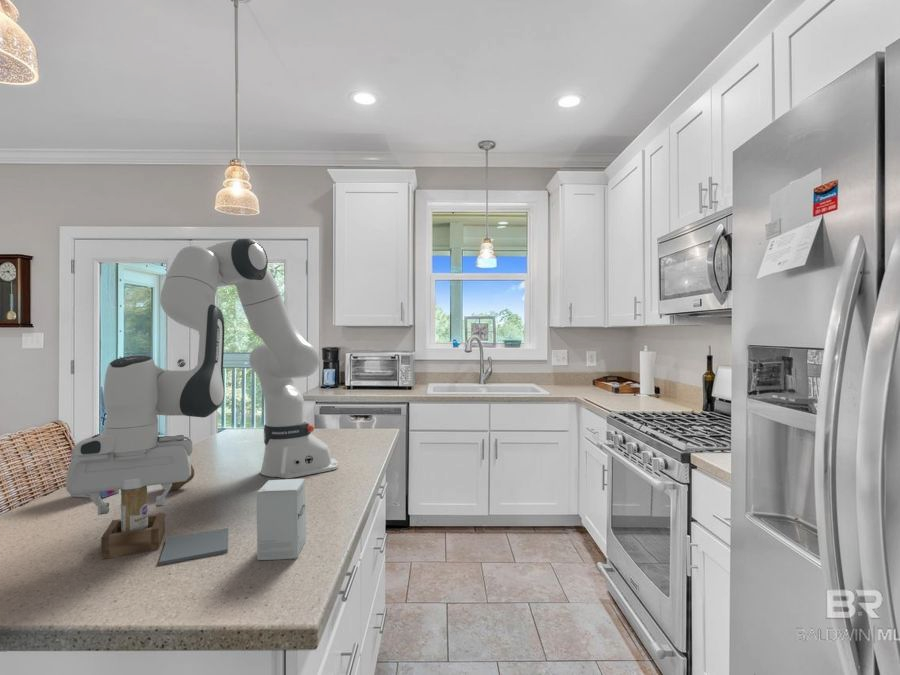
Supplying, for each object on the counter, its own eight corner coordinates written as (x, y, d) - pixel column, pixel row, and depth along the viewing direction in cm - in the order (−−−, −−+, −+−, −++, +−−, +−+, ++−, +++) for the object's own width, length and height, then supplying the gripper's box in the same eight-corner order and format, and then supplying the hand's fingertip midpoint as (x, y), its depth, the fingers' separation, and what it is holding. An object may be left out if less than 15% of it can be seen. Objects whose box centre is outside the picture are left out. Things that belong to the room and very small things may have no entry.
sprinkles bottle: (143, 548, 91) (142, 478, 90) (116, 551, 90) (115, 480, 89) (152, 538, 95) (151, 472, 95) (127, 541, 94) (126, 474, 94)
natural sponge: (146, 492, 123) (145, 454, 123) (179, 482, 131) (178, 447, 131) (166, 497, 119) (166, 458, 119) (199, 487, 127) (199, 450, 127)
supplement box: (298, 559, 85) (296, 489, 85) (256, 561, 85) (254, 491, 85) (307, 541, 93) (306, 477, 93) (268, 543, 92) (267, 479, 92)
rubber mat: (227, 530, 98) (227, 527, 98) (227, 552, 88) (227, 549, 88) (167, 541, 94) (167, 538, 94) (159, 565, 84) (159, 561, 84)
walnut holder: (164, 531, 98) (164, 512, 98) (158, 549, 90) (158, 528, 90) (112, 540, 94) (112, 520, 94) (101, 559, 86) (101, 537, 86)
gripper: (193, 431, 99) (194, 496, 99) (73, 441, 91) (74, 512, 91) (190, 436, 94) (191, 506, 94) (62, 447, 85) (63, 524, 85)
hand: (132, 509), depth 92 cm, fingers open, 8 cm apart
